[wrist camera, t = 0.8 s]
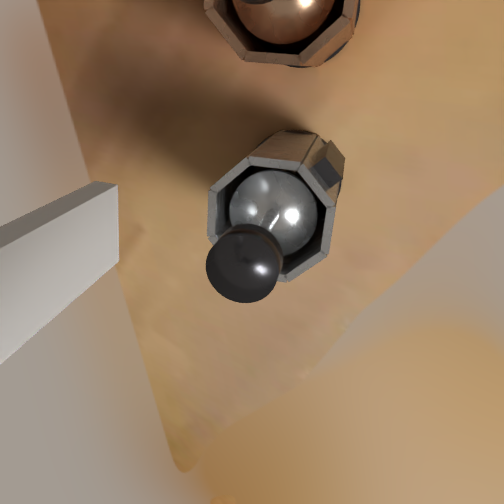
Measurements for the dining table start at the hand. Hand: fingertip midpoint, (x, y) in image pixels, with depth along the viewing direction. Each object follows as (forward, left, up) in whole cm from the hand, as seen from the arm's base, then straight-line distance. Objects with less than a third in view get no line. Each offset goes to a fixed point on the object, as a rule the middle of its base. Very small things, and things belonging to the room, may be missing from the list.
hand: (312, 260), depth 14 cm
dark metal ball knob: (+1, -6, -19) cm, 20 cm away
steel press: (+1, -6, -31) cm, 31 cm away
